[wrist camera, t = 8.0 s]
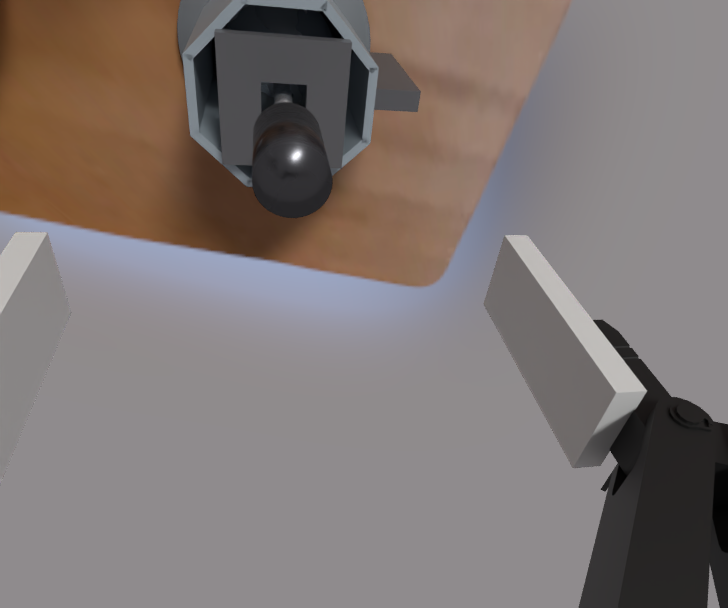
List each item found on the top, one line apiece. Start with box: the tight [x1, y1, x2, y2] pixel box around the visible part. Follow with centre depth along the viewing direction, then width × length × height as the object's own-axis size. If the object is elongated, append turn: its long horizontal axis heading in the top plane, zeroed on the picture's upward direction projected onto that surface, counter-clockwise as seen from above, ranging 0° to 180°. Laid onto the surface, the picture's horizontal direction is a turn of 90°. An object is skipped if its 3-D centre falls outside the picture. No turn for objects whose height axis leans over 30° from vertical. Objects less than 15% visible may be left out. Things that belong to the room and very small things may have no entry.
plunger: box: [222, 4, 333, 218], centre depth 29 cm, size 8×8×21 cm
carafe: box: [182, 0, 421, 187], centre depth 34 cm, size 13×10×14 cm
